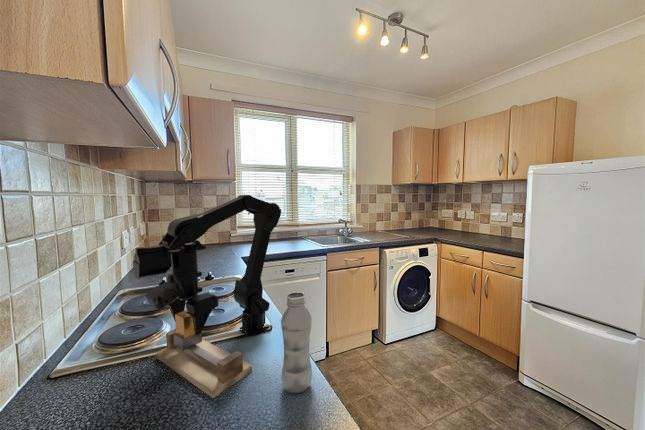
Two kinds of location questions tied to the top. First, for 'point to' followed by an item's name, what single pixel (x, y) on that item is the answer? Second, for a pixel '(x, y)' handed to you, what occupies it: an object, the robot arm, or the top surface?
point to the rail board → (205, 365)
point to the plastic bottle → (296, 344)
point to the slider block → (185, 331)
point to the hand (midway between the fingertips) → (187, 329)
